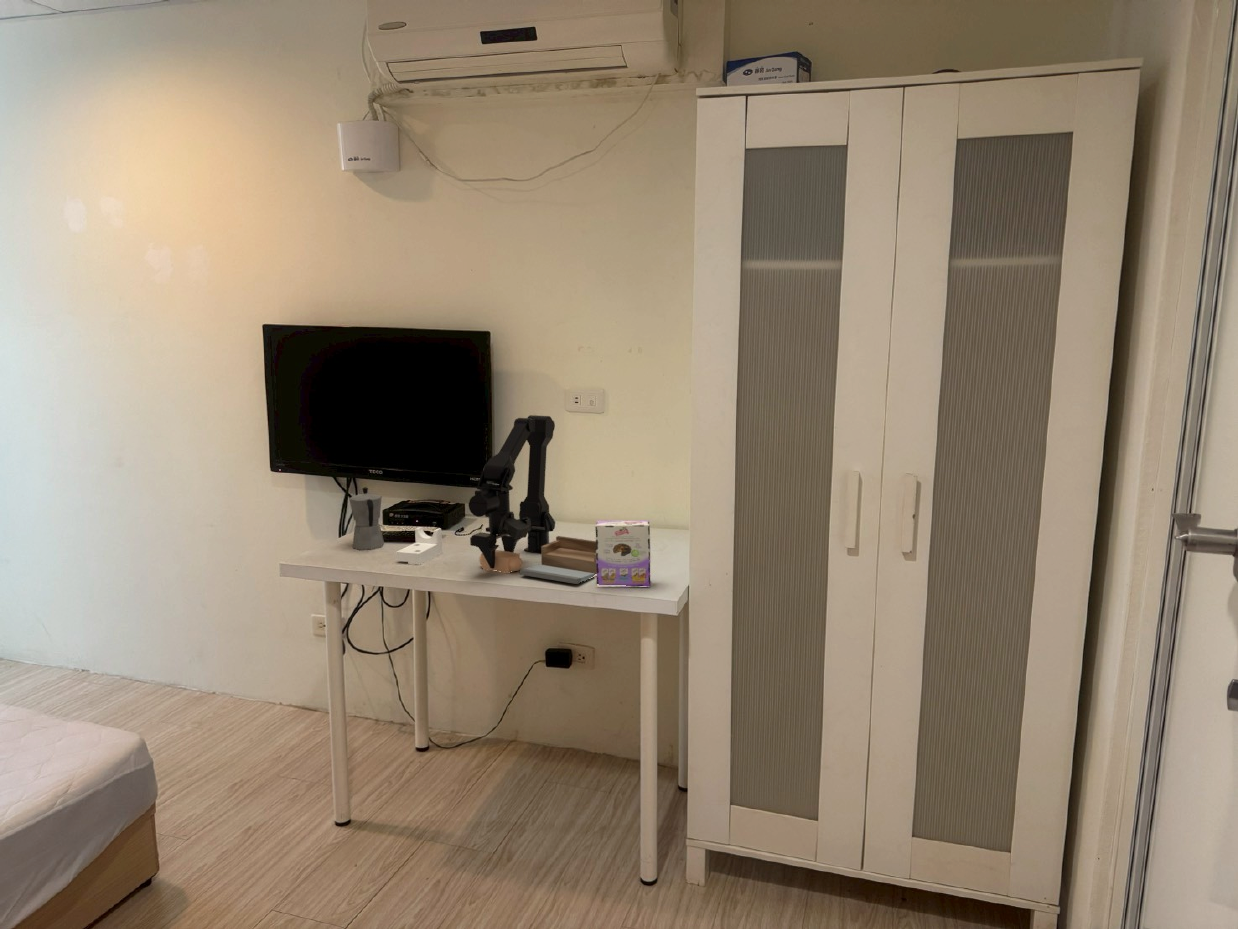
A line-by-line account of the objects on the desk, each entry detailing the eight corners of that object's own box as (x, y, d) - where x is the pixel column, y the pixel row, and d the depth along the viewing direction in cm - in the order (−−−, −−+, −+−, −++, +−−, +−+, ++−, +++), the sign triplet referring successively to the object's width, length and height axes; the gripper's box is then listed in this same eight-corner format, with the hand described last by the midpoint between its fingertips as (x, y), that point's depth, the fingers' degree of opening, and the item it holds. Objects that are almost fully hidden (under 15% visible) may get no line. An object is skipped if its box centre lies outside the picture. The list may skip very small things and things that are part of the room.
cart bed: (558, 560, 248) (558, 535, 247) (614, 568, 239) (614, 543, 238) (541, 567, 240) (541, 542, 239) (598, 576, 232) (598, 551, 230)
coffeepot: (348, 542, 268) (345, 485, 265) (380, 539, 272) (377, 482, 269) (357, 555, 254) (353, 494, 251) (390, 551, 258) (387, 491, 255)
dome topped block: (487, 563, 245) (486, 548, 244) (526, 570, 238) (526, 554, 237) (475, 568, 240) (474, 552, 239) (515, 575, 234) (514, 559, 233)
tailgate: (539, 564, 239) (519, 569, 231) (594, 573, 230) (576, 579, 223) (539, 568, 239) (519, 574, 231) (594, 577, 230) (576, 584, 223)
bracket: (420, 552, 258) (419, 527, 257) (442, 553, 256) (441, 528, 255) (397, 564, 246) (395, 537, 245) (419, 566, 244) (418, 539, 243)
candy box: (650, 581, 228) (650, 519, 225) (650, 588, 222) (650, 524, 219) (597, 581, 228) (596, 519, 226) (595, 588, 223) (595, 524, 220)
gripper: (502, 519, 224) (503, 578, 227) (543, 505, 240) (544, 560, 243) (467, 514, 230) (470, 572, 233) (510, 501, 246) (512, 555, 249)
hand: (500, 564), depth 239 cm, fingers open, 7 cm apart
